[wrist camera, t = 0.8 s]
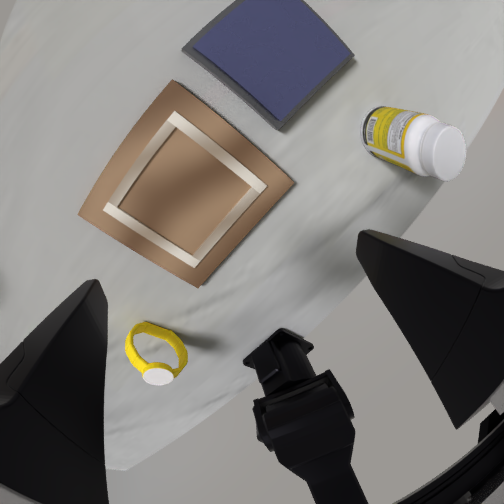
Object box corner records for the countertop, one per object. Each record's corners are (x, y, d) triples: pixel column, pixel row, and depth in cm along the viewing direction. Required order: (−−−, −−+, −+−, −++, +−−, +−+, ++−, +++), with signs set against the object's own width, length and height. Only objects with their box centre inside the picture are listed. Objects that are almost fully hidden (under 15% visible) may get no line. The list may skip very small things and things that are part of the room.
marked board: (291, 180, 22) (295, 183, 22) (197, 284, 25) (198, 289, 24) (172, 80, 16) (172, 79, 16) (79, 211, 19) (76, 215, 18)
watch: (187, 328, 28) (197, 376, 23) (175, 344, 29) (183, 391, 24) (132, 310, 25) (132, 361, 20) (123, 329, 26) (122, 378, 21)
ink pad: (348, 56, 18) (358, 55, 16) (274, 128, 20) (280, 131, 19) (268, -22, 13) (274, -29, 12) (181, 51, 15) (181, 47, 14)
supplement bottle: (405, 139, 23) (473, 165, 16) (372, 166, 23) (439, 200, 16) (386, 96, 20) (460, 109, 13) (349, 122, 21) (421, 142, 14)
